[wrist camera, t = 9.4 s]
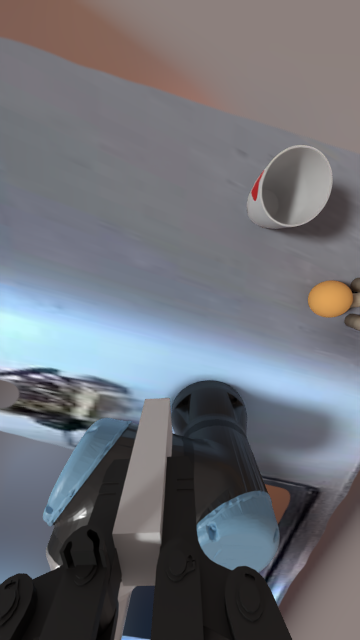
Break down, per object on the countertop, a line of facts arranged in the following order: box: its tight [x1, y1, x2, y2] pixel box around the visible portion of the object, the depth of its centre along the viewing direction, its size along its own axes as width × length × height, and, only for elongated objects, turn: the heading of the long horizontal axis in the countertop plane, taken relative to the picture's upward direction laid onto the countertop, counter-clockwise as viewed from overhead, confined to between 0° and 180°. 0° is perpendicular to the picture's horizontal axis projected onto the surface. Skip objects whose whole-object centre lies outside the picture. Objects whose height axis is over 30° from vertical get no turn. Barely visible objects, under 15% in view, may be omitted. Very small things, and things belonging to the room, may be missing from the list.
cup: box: [247, 145, 332, 229], centre depth 29 cm, size 8×8×10 cm
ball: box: [308, 281, 353, 317], centre depth 35 cm, size 6×6×6 cm
